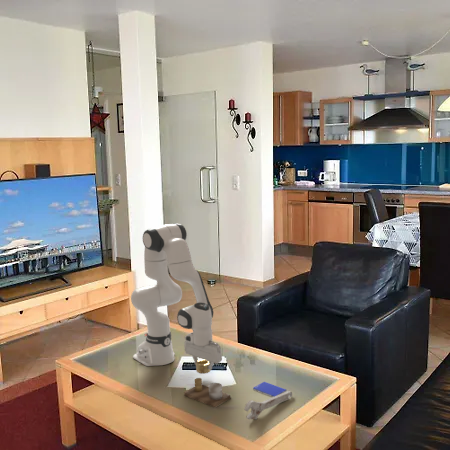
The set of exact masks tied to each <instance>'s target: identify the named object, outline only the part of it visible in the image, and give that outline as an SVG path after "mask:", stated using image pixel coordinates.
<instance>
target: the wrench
mask: <svg viewBox="0 0 450 450" xmlns="http://www.w3.org/2000/svg"><path fill="white" fill-rule="evenodd" d="M289 397H292V398H293V392H292V391H289V390H287V391H286V392H284V393H282V394H279V395H277V396H275V397H270V398H268V399H265V400H263V401H260V402H259V401H254V400H249V401H247V403H246V404H245V406H244V408H243V409H244V411H246V412H249V410H251V411H250V412H249V413H248V414H247V416H246V419H248V420H258V417H259V416H260V415H261V413H262V412H263V411H264V410H267V409H268V408H272V407H274V406H276V405H279V404H281V403H283V402H286V401H288V400H290V399H291V398H289Z"/></svg>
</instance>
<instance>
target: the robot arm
mask: <svg viewBox="0 0 450 450" xmlns="http://www.w3.org/2000/svg"><path fill="white" fill-rule="evenodd" d="M187 236H188V235H187V230H186V228H185V226H184V225H183V224H181V223H176V222H175V223H169V224H168V223H167V224H162V225H158V226H155V227H150V228H148V229H146V230H144V232H143V234H142V243H143V245H144V255H143V256H144V257H143V258H144V261H143V263H144V273H145V276H146V277H147V278H149V279H151V280H154V281H156V284H154V285H147V286H142V287H139V288H136V289H133V291H132V293H131V296H130V301H131V304H132V306H133V308H135V309H137V310H139V311H140V312H141V313H142V314H143V316H144V318H145V321H146V326H147V332H146V333H144V337H145V339H144V341H142V342H141V343H140V344H139V345H138V346H137V348H136V351H137V352H136V353H134V354H133V356H132V358H133V359H134V360H136V361H137V362H139V363H140V364H142V365H144V366H145V367H151V366H163V365H168V364H170V363H172V362H174V361H175V355H176V354H175V352H174V349H173V348H174V347H173V341H172V332H171V326H170V324H171V323H170V318H169V316H168V315H167V314H166V313H164V312H160V311H158V308H160V307H165V306H167V307H168V306H173V305H174V304H175V305H176V304H177V303H179V302H180V301H181V300H182V298H183V289H182V287H181V285H179V284H178V283H176V282H175V281H178V282H183V283H188V284H189V285H190V286H191V288H192V291H193V293H194V297H195V300H196V303H194V304H193V305H188V306H186V307H183V308H180V309H179V310H178V312H177V316H176V317H177V318H176V319H177V323H178V325H179V326H180V327H181V328H183V329H186V330H192V332H189V333H187V334H186V335H185V336H184V352H185V354H187V355H189V356H192V359H193V362H194V365H195V366H196V362H197V361H198V360H199V359H200V360H202V359H204V360H207V361H209V363H210V364H209V365H208V366H207V369H209V370H213V365H214V364H219V363H221V362H222V361H223V354H222V350H221V346H220V344H219V343H218V342H215V341H213V329H212V324H213V317H214V308H213V306H212V304H211V302H210V299H209V297H208V293H207V291H206V288H205V284H204V281H203V277H202V275H201V273H200V272H199V271H198V270H197V269H196V268H195V267H194V264H193V262H192V261H193V260H192V257H191V251H190V249H189V246H188V243H187V241H186V240H187ZM171 277H172V278H173V279H175V281H174V280H173V279H172V278H171ZM198 358H199V359H198Z"/></svg>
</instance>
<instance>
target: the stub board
mask: <svg viewBox="0 0 450 450" xmlns="http://www.w3.org/2000/svg"><path fill="white" fill-rule="evenodd" d="M193 382H194V386H193V387H191V388H189V389H187V390H185V391H184V392H183V395H184V397H186V398H187V397H188V398H190V399H192V400H194V401H198V402H200V403H202V404H204V405H208V406H210V407H213V408H217V407H218V406H220V405H222V404H223V403H225V402H227V401H229V400H230V399H231V398H232V397H231V394H229V393H226V392H224V391H223V385H222V383H220V382H212V383H210V384H209V385H208V386H207V385H204V384H203V379H202V378H201V377H196V378H194V381H193Z"/></svg>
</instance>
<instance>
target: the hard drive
mask: <svg viewBox="0 0 450 450" xmlns="http://www.w3.org/2000/svg"><path fill="white" fill-rule="evenodd" d="M252 390H253V391H255V392H258V393H261V394H263V395H265V396H269V397H270V398H272V397H275V396H277V395H279V394H282V393H284V392H286V391H288V390H287V389H286V388H283V387H281V386H277V385H274V384H272V383H270V382H266V381H262V382H260V383H259V384H257V385H256V386H253V387H252Z"/></svg>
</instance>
